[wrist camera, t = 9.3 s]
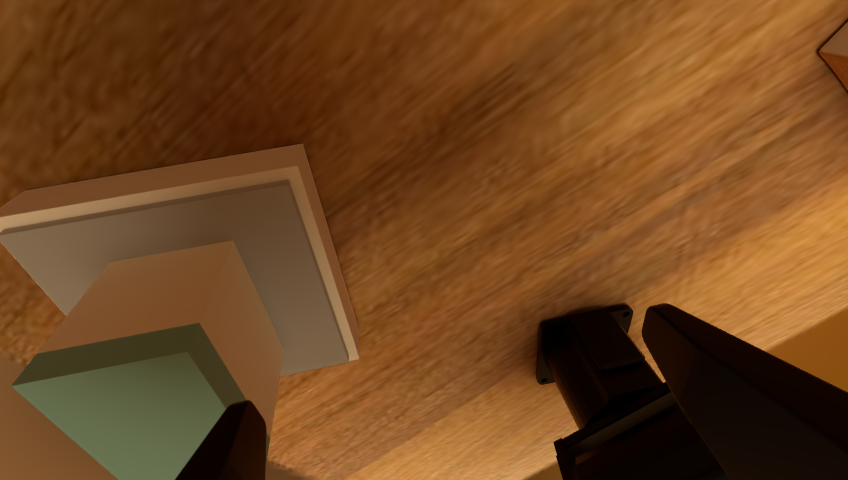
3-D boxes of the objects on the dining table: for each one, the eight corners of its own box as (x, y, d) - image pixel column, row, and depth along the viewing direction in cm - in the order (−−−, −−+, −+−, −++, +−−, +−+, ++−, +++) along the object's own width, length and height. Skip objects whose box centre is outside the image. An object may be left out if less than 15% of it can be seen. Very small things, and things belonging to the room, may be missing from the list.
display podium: (358, 326, 25) (359, 366, 23) (160, 366, 24) (139, 411, 22) (302, 143, 18) (296, 170, 16) (24, 190, 17) (-29, 227, 15)
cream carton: (233, 240, 17) (187, 351, 12) (284, 349, 21) (265, 467, 16) (109, 262, 17) (11, 386, 12) (186, 369, 21) (136, 495, 16)
